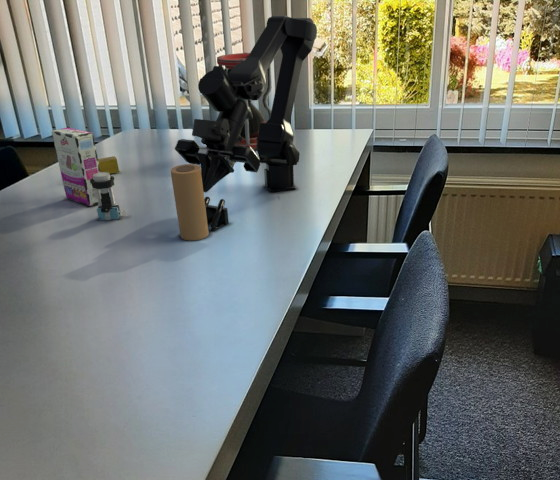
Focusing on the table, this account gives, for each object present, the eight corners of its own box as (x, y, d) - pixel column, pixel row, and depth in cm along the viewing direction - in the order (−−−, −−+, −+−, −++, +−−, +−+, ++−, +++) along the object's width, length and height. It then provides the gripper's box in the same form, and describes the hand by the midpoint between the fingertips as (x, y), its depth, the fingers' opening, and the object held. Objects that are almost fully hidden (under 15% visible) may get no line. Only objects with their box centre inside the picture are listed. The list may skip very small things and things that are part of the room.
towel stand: (208, 220, 139) (205, 195, 136) (228, 223, 136) (226, 198, 133) (194, 227, 135) (191, 202, 132) (215, 231, 133) (212, 206, 130)
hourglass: (274, 149, 188) (270, 58, 174) (221, 151, 189) (213, 60, 175) (275, 137, 202) (272, 51, 188) (226, 139, 202) (219, 53, 188)
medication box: (76, 180, 169) (73, 166, 167) (74, 177, 171) (71, 162, 169) (119, 172, 173) (117, 158, 171) (117, 169, 175) (114, 155, 173)
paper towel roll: (206, 185, 135) (171, 152, 123) (229, 189, 133) (195, 155, 120) (185, 245, 134) (147, 217, 122) (207, 250, 132) (171, 222, 119)
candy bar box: (107, 201, 153) (94, 132, 143) (90, 207, 150) (75, 136, 140) (82, 193, 159) (68, 126, 150) (65, 198, 156) (49, 130, 147)
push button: (129, 213, 145) (121, 170, 139) (124, 221, 140) (116, 177, 135) (100, 214, 145) (92, 171, 139) (95, 222, 140) (86, 178, 135)
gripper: (174, 98, 129) (147, 165, 127) (249, 104, 121) (221, 176, 119) (201, 130, 139) (176, 193, 137) (272, 137, 131) (246, 204, 129)
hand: (203, 191), depth 130 cm, fingers closed
